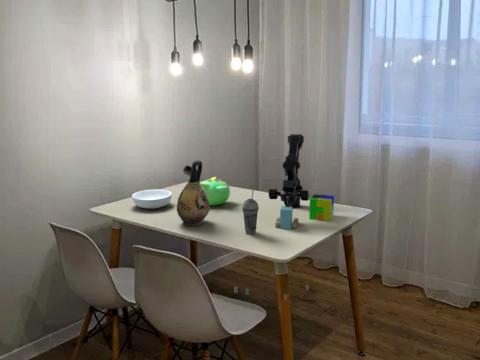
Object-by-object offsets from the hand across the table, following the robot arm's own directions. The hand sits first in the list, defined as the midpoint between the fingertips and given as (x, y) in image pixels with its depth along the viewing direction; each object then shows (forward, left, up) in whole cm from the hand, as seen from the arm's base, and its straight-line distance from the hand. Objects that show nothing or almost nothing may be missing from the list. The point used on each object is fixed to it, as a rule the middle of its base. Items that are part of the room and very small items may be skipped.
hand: (287, 210), depth 222 cm
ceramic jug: (+39, -21, -7) cm, 44 cm away
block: (+2, +2, -7) cm, 8 cm away
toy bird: (+21, -47, -7) cm, 52 cm away
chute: (0, 0, -7) cm, 7 cm away
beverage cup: (+20, +3, -7) cm, 21 cm away
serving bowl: (+52, -57, -7) cm, 77 cm away
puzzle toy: (-21, -5, -7) cm, 23 cm away
